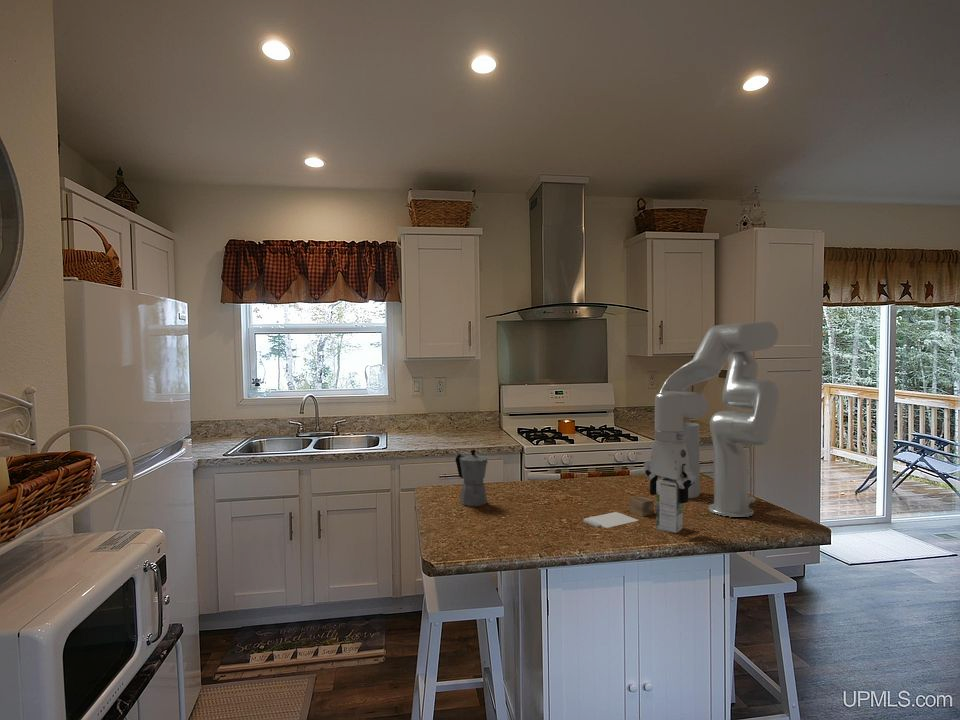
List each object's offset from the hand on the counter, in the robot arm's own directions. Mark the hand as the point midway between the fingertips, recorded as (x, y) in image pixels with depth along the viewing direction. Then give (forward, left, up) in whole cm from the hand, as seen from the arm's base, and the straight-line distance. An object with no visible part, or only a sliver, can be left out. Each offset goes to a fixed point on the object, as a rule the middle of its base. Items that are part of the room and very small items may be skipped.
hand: (668, 498), depth 140 cm
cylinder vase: (-35, -24, -9) cm, 43 cm away
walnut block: (-5, -14, -9) cm, 17 cm away
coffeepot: (+33, -54, -9) cm, 64 cm away
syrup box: (-1, 0, -9) cm, 9 cm away
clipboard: (+8, -14, -9) cm, 19 cm away
